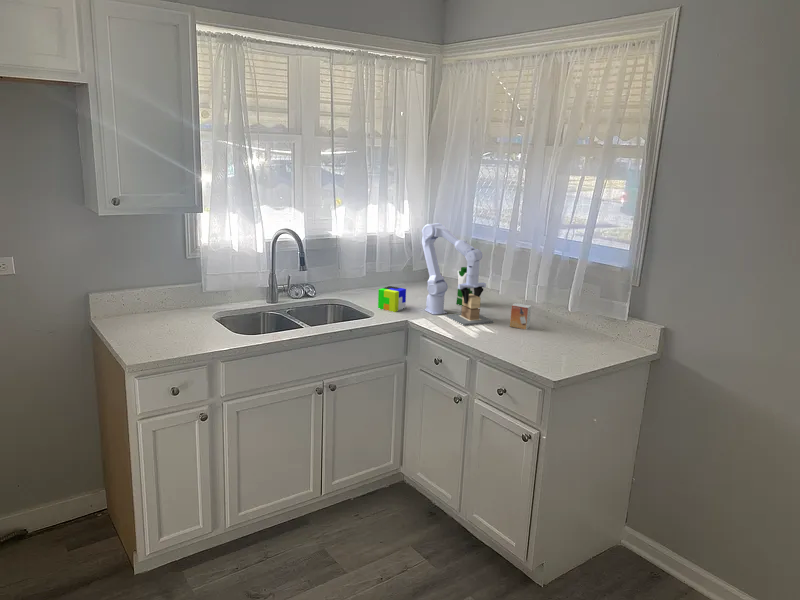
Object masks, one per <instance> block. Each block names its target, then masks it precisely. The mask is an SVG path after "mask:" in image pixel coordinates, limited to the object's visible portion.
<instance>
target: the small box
mask: <svg viewBox="0 0 800 600" xmlns="http://www.w3.org/2000/svg"><path fill="white" fill-rule="evenodd" d="M510 310H511V311H510V320H509V327H510V328H516V329H520V330H525V331H526V330H527V329H529V328H530V324H531V323H530V322H531V315H532V314H531V313H532V305H529V304H523V303H517V302H514V303H513V304H511V308H510Z"/></svg>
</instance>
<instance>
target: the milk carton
mask: <svg viewBox="0 0 800 600" xmlns="http://www.w3.org/2000/svg"><path fill="white" fill-rule="evenodd" d="M466 277H467V266H462V267H460V270H457V278H458V279H457V286H458V285H459V284H464V283H466ZM468 290H470V292H469V294H474V288H468ZM456 293H457V295H456V296H457V297H456V303H455V304H456V305H458V304H459V305H458V306H460V305H462V299H463V295H462V292H461V290H460V289H458V288H457V292H456ZM462 306H464V305H462ZM462 306H461V307H462Z"/></svg>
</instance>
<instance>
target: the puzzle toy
mask: <svg viewBox="0 0 800 600" xmlns="http://www.w3.org/2000/svg"><path fill="white" fill-rule="evenodd" d="M377 295H378V297H377V299H378V300H377V309H378V308H380V309H379V310H382V309H385V310H384V311H387V310H389V311H388V312H392V311H393V312H392V313H396V312H398V310H399V311H402V310H404V309H406V302H407V301H406V300H407V298H406V297H407V288H403V287H397V286H393V285H392V286H391V285H389V286H385V287H382V288H378V293H377ZM403 308H404V309H403Z"/></svg>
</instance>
